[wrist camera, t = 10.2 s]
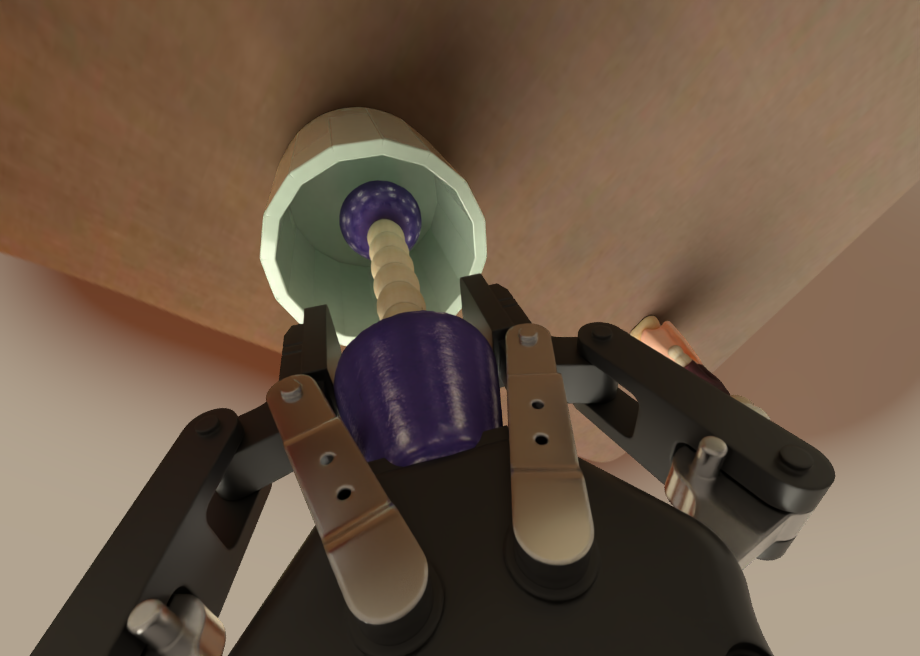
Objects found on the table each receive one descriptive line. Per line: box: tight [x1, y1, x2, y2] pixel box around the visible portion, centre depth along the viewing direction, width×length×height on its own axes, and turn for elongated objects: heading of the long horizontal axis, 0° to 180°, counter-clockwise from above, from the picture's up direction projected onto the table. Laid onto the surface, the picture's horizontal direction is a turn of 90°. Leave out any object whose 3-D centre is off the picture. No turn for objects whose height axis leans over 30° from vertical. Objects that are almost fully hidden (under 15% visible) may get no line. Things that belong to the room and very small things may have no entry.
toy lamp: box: [334, 180, 503, 467], centre depth 16 cm, size 5×5×17 cm
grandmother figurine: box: [630, 316, 770, 420], centre depth 34 cm, size 8×4×13 cm, turn 49°
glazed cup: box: [260, 107, 487, 346], centre depth 23 cm, size 10×10×9 cm
